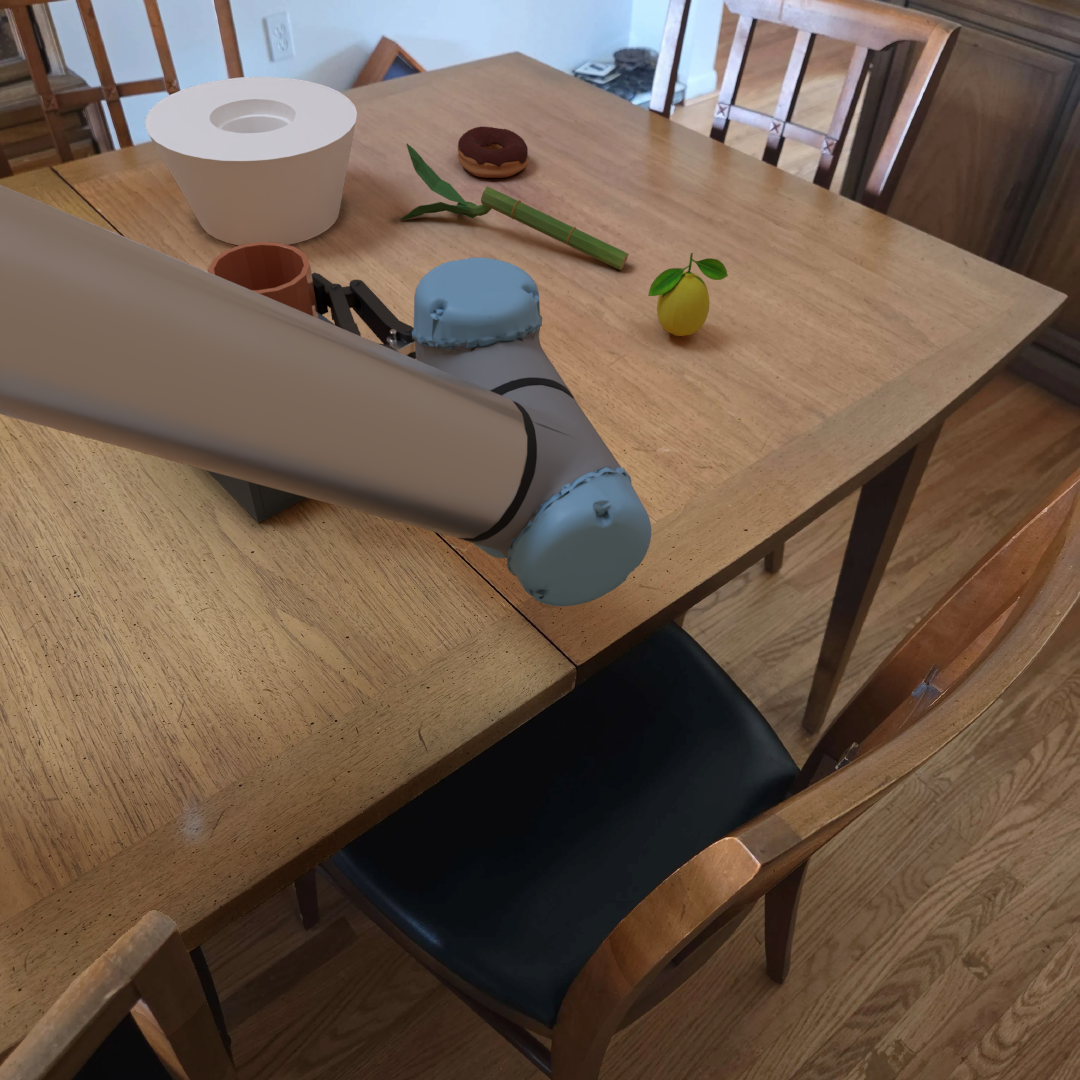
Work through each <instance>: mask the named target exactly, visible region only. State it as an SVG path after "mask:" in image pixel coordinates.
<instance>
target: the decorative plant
mask: <svg viewBox="0 0 1080 1080" xmlns="http://www.w3.org/2000/svg"><path fill="white" fill-rule="evenodd" d="M406 148H407V150H408V155H409V157H410V160H411V163H412V166H413V168H414V171H415V173H416V174H417V176H419V178H421V180H422V181H423V182H424V183H425V184H426V186H427V187H428V188H429V189H430V190H431V191H432V192H434V193H436V194H437V195H439V196H441V197H443V198H445V199H447V200H448V201H452V202H455V203H456V205H455V204H449V203H446V202H443V201H438V202H433V203H429V204H422V205H418V206H416V207H415V208H413V209H411V211H409V212H408V213H406V214H405V215H404V216H402V217H401V218H400V219H399V221H403V220H405V221H406V220H410V219H413V218H416V217H420V216H422V215H424V214H436V213H442V212H445V211H446V212H449V213H451V214H455V215H456V214H457V215H462V216H465V217H468V218H470V219H474V218H476V217H482V216H485V215H488V214H489V212H490V211H491V210H494V211H496V212H498V213H500V214H503V216H506V217H509V218H510V219H511V220H515V221H517V222H519V223H521V224H523V225H525V226H526V227H529V228H531V229H533V230H535V231H537V232H539V233H541V234H543V235H546V236H548V237H550V238H552V239H554V240H556V241H558V242H560V243H562V244H565V245H567V246H569V247H571V248H573V249H575V250H577V251H579V252H581V253H584V254H586V255H588V256H589V257H592V258H594V259H596V260H597V261H600V262H602V263H604V264H606V265H608V266H610V267H612V268H614V269H617V270H618V271H622V269H623V268H624V267H625V264H626V262H627V260H628V259H629V258H628V257H629V253H628V252H626V251H624V250H621V249H620V248H618V247H616V246H613V245H611V244H609V243H608V242H605V241H603V240H602V239H599V238H597V237H595V236H593V235H591V234H588V233H586V232H584V231H583V230H580V229H578V228H577V227H576V226H572V225H570V224H567V223H566V222H563V221H561V220H560V219H557V218H555V217H553V216H550V215H549V214H547V213H545V212H542V211H540V210H538V209H536V208H534V207H532V206H530V205H528V204H525V203H524V202H522V200H520V199H519V200H517V199H515V198H513V197H511V196H509V195H507V194H504V193H502V192H501V191H498V190H496V189H494V188H492V187H490V186H486V187H485V189H484V190H483V191H482V193H481V197H480V203H481V204H479V205H477V204H476V203H474V202H471V201H466V200H465V199H464V198H463V197H462V196H461V195H460V193H459V192H458V191H457V190H456V188H454V187H453V185H452V184H451V183H449V182H447V181H445V180H444V179H442V178H441V177H440V176H439V175H438V174H437V173H436V171H434V170H433V169H432V167H430V166H429V165H428V164H427V163H426V161H425V160H424V159H423V157H422V156H421V155H420V154H419V153H418V152H417V150H416V149H414V148H413V147H412V146H411V145H410V144H408V143H406Z"/></svg>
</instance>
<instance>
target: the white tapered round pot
mask: <svg viewBox="0 0 1080 1080" xmlns="http://www.w3.org/2000/svg"><path fill="white" fill-rule="evenodd" d="M357 118H358V111H357V108H356V105H355V104H354V103H353V101H351V99H350V98H349V97H347V96H346V95H345V94H344V93H342V92H340V91H338V90H336V89H334V88H332V87H329V86H327V85H324V84H320V83H317V82H314V81H309V80H304V79H298V78H289V77H281V76H245V77H244V76H243V77H242V76H241V77H233V78H225V79H218V80H212V81H208V82H203V83H199V84H196V85H193V86H189V87H186V88H183V89H181V90H178V91H176V92H174V93H171V94H169V95H168V96H166V97H164V98H162V99H161V100H159V101H158V102H156V103H155V104H154V105H153V106H152V107H151V108H150V109H149V111H148V113H147V114H146V116H145V119H144V127H145V130H146V132H147V134H148V137H149V138H150V140H151V141H152V143H153V145H154V147H155V148H156V150H157V152H158V153H159V156H160V157H161V159H162V161H163V162H164V164H165V166H166V168H167V169H168V171H169V173H170V174H171V176H172V178H173V179H174V181H175V183H176V185H177V186H178V188H179V190H180V191H181V193H182V195H183V198H184V199H185V200H186V202H187V203H188V206H189V207H190V209H191V210H192V212H193V214H194V216H195V218H196V219H197V221H198V223H199V225H200V226H201V228H202V229H203V230H204V231H205V232H206V233H207V234H208V235H209V236H211V237H213V238H214V239H216V240H219V241H221V242H223V243H226V244H231V245H234V246H239V245H243V244H249V243H257V242H273V243H282V244H286V245H289V246H291V245H295V244H300V243H301V242H305V241H309V240H311V239H313V238H315V237H318V236H320V235H322V234H323V233H324V232H326V231H328V230H329V229H330V228H331V227H332V226H333V225H334V224H335V223H336V222H337V220H338V218H339V216H340V215H339V214H340V211H341V210H340V209H341V205H342V199H343V193H344V189H345V184H346V183H345V182H346V177H347V172H348V166H349V162H350V161H349V160H350V155H351V150H352V146H353V140H354V135H355V128H356V124H357Z"/></svg>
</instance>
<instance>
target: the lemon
mask: <svg viewBox="0 0 1080 1080" xmlns="http://www.w3.org/2000/svg"><path fill="white" fill-rule="evenodd" d="M693 256H694V253H693V252H690V255H689V263H688V265H687V266H685V267H683V268H682V267H681V268H680V267H678V268H677V267H673V268H672V267H671V268H667V269H665V270H664V271H662V272H661V273H659V274H658V275H657V276H656V278H655V279H654V280H653V281H652V283H651V284H650V286H649V290H648V294H647V296H648V297H657V296H658V298H657V302H656V314H657V319H658V322H659V325H660V326H661V327H662V329H663V330H664V331H666V332H667V333H669V334H671V335H674V336H675V337H680V336H681V337H684V336H691V335H693V334H696V333H697V332H698V331H699V330H701V328H702V327H703V326H704V325H705V323H706V321H707V318H708V315H709V312H710V311H709V310H710V294H709V290H708V287H707V284H706V282H705V281H704V280H703V278H701V277H700V276H699V275H698V274H696V273H694V272H692V271H691V270H692V263H695V264H696V265H697V268H698V269H699V270H700V272H701V273H702V274H703V276H705V277H706V278H708V279H710V280H713V281H722V280H724V279H725V278H727V277H728V276H729V274H728V271H727V268H726V266H725V265H724V263H723V262H722V261H720V260H719V259H718V258H713V257H712V258H711V257H710V258H709V257H707V258H703V259H699V260H697V261H696V260H695V259H694V257H693ZM687 268H688V270H687ZM685 270H686V271H685Z"/></svg>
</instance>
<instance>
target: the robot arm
mask: <svg viewBox="0 0 1080 1080" xmlns="http://www.w3.org/2000/svg"><path fill="white" fill-rule="evenodd" d="M311 273H312V280H313V286H314V292H315V299H316V305H317V312H318V313H319V314H320V315H323V316H324V315H325V314H328V313H329V309H330V315H331V321H333V324H335V325H332V324H330V323H328V322H325V321H323V320H321V319H318V318H316V317H314V316H311V315H309V314H306V313H304V312H302V311H299V310H297V309H295V308H292V307H290V306H287V305H285V304H283V303H280V302H278V301H276V300H273V299H271V298H268V297H266V296H264V295H261V294H259V293H257V292H254V291H252V290H249V289H247V288H245V287H242V286H240V285H238V284H235V283H233V282H230V281H228V280H226V279H223V278H221V277H219V276H216V275H214V274H211V273H209V272H208V270H207V271H206V270H204V269H202V268H200V267H197V266H195V265H192V264H190V263H188V262H185V261H183V260H180V259H178V258H176V257H174V256H171V255H169V254H167V253H165V252H161V251H159V250H156V249H154V248H152V247H150V246H147V245H145V244H143V243H141V242H138V241H136V240H134V239H130V238H129V237H126V236H123V235H121V234H118V233H116V232H114V231H112V230H109V229H107V228H104V227H102V226H100V225H97V224H95V223H93V222H90V221H88V220H86V219H83V218H81V217H78V216H76V215H73V214H72V213H69V212H67V211H64V210H62V209H60V208H57V207H55V206H52V205H50V204H48V203H45V202H43V201H40V200H38V199H35V198H34V197H32V196H28V195H27V194H24V193H21V192H19V191H17V190H14V189H12V188H9V187H7V186H5V185H2V184H0V415H2V416H5V417H10V418H13V419H16V420H20V421H24V422H28V423H31V424H35V425H39V426H42V427H46V428H50V429H53V430H57V431H61V432H65V433H68V434H73V435H75V436H79V437H83V438H87V439H90V440H94V441H98V442H100V443H104V444H109V445H112V446H115V447H120V448H123V449H128V450H131V451H135V452H138V453H141V454H145V455H150V456H153V457H157V458H160V459H165V460H167V461H171V462H174V463H178V464H183V465H187V466H189V467H193V468H197V469H201V470H204V471H207V470H208V471H211V472H215V473H219V474H223V475H226V476H230V477H234V478H237V479H241V480H245V481H248V482H252V483H256V484H259V485H263V486H267V487H270V488H274V489H278V490H281V491H285V492H289V493H292V494H296V495H300V496H304V497H307V498H306V499H311V500H314V501H319V502H322V503H325V504H329V505H334V506H337V507H340V508H344V509H348V510H351V511H355V512H358V513H363V514H366V515H370V516H373V517H376V518H380V519H385V520H389V521H393V522H395V523H400V524H403V525H407V526H411V527H415V528H418V529H422V530H424V531H425V530H426V531H429V532H433V533H437V534H440V535H444V536H447V537H452V538H455V539H459V540H462V541H465V542H468V543H471V544H473V545H475V546H476V547H477V548H479V549H480V550H481V551H483V552H484V553H485V554H487V555H488V556H491V557H492V558H496V559H502V560H505V559H506V567H507V569H508V571H509V573H510V574H511V575H512V576H514V577H516V579H517V580H518V581H519V583H520V585H521V588H523V590H524V591H525V592H526V593H527V594H528V595H529V596H530V597H532V598H533V599H534V600H535V601H537V602H538V603H540V604H544V605H546V606H552V607H562V608H563V607H573V606H580V605H583V604H586V603H590V602H593V601H595V600H597V599H599V598H601V597H603V596H605V595H607V594H609V593H610V592H613V591H614V590H616V589H617V588H618V587H619V586H621V585H622V584H624V583H625V582H626V581H627V579H628V577H629V576H630V574H631V573H632V572H634V571H635V569H636V568H638V567H639V566H640V565H641V564H642V562H643V561H644V559H645V557H646V555H647V553H648V550H649V548H650V545H651V540H652V531H653V530H652V523H651V520H650V516H649V513H648V511H647V509H646V507H645V506H644V504H643V502H642V501H641V499H640V497H639V495H638V493H637V491H636V490H635V488H634V486H633V482H632V477H631V475H630V474H629V473H628V472H627V470H626V469H625V468H624V467H622V466H621V464H620V463H619V462H618V461H617V459H616V457H615V455H613V453H612V451H611V450H610V449H609V447H608V446H607V444H606V443H605V441H604V440H603V438H602V436H601V435H600V434H599V433H598V431H597V429H596V428H595V426H594V425H593V424H592V422H591V420H589V418H588V416H587V415H586V413H585V412H584V411H583V409H582V407H581V406H580V405H579V403H578V402H577V400H576V398H575V396H574V395H573V393H572V392H571V390H570V389H569V387H568V386H567V384H566V383H565V381H564V380H563V378H562V377H561V375H560V373H559V372H558V370H557V369H556V367H555V366H554V364H553V362H552V361H551V359H550V358H549V356H548V355H547V354H546V352H545V351H544V349H543V347H542V345H541V341H540V331H541V327H542V326H543V317H542V315H541V304H540V292H539V288H538V285H537V283H536V282H535V279H534V278H533V277H532V276H531V275H530V274H529V273H528V272H527V271H525V269H523V268H521V267H519V266H518V265H515V264H513V263H510V262H508V261H504V260H502V259H501V260H500V259H496V258H491V257H475V256H474V257H468V258H462V259H461V258H460V259H457V260H450V261H446V262H444V263H441V264H440V265H437V266H434V267H433V268H432V269H430V270H429V271H428V272H427V273H426V274H424V275H423V277H421V279H420V280H419V281H418V284H417V286H416V288H415V292H414V297H413V299H414V300H413V303H414V304H413V326H412V325H409V324H407V323H405V322H403V321H401V320H400V319H399V318H398V317H397V316H396V315H395V314H394V313H393V312H392V311H391V310H390V309H389V308H388V306H386V304H384V302H383V301H381V299H380V298H379V297H378V296H377V295H376V293H374V291H372V289H371V288H370V287H369V286H368V285H367V284H366V283H365V281H364V280H361V279H352V280H351V281H349V285H347V286H346V285H345V286H342V285H341V284H340V283H333V282H331V281H330V280H329V279H328V278H326V277H324V276H323V275H322V274H320V273H317V272H311ZM351 309H352V310H353V311H354V312H355V314H356V315H357V316H358V317H359V318H360V319H361V320H362V322H363V323H364V324H365V325H366V327H368V328H369V329H370V330H371V332H372V333H373V334H374V335H375V336H376V337H377V338H378V340H380V342H381V343H379V342H375V341H374V340H373V341H372V340H371V339H368V338H365V337H364V336H362V334H361V332H360V329H359V327H358V323H356V322H355V319H354V316H353V314H352V311H351ZM208 471H207V472H208Z"/></svg>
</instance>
